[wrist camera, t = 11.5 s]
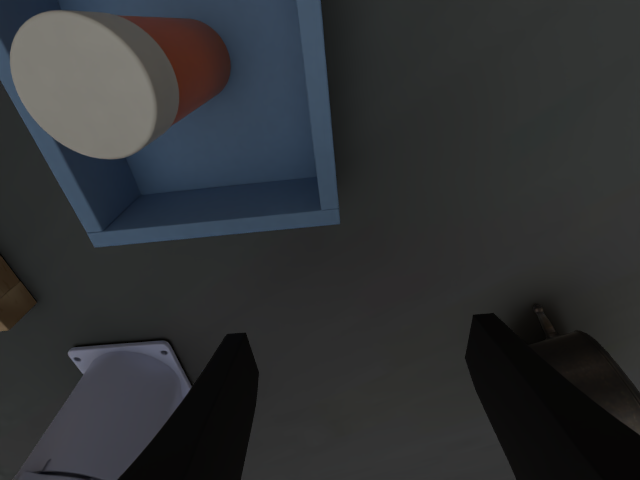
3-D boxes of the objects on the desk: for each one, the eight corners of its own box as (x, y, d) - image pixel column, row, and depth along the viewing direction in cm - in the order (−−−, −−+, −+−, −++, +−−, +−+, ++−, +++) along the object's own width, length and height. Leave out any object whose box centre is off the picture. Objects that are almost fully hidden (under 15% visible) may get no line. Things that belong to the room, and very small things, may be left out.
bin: (336, 183, 19) (340, 224, 15) (138, 203, 20) (94, 248, 16) (303, -177, 12) (296, -276, 8) (-9, -126, 12) (-157, -195, 9)
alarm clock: (580, 371, 28) (824, 697, 15) (514, 391, 30) (680, 704, 16) (555, 285, 23) (898, 663, 9) (478, 314, 25) (676, 676, 11)
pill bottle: (239, 95, 16) (175, 153, 9) (172, 103, 16) (55, 166, 9) (221, 12, 14) (121, 0, 7) (145, 22, 14) (-26, 20, 7)
